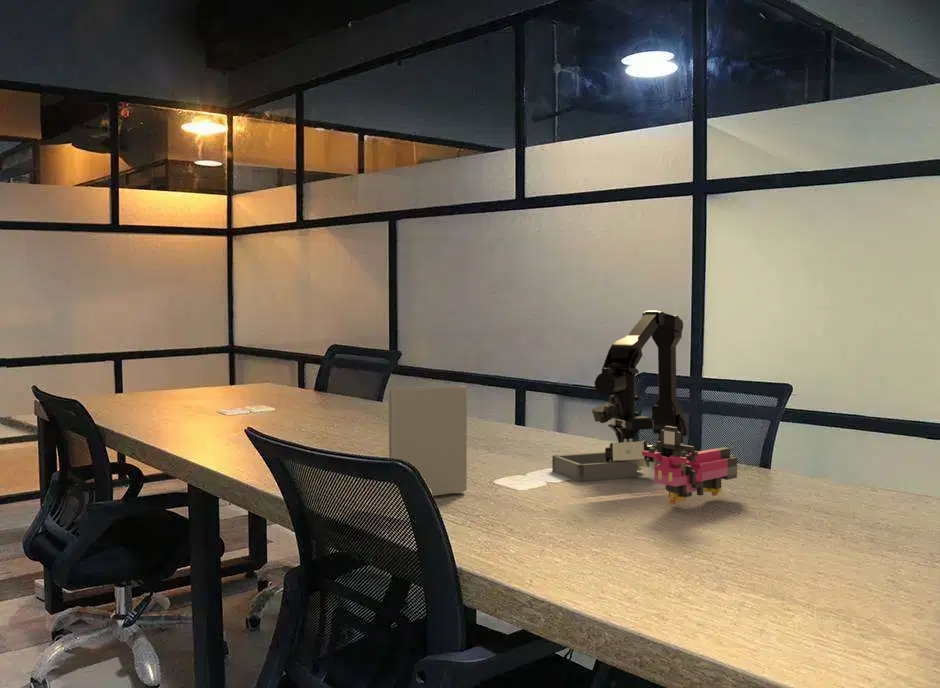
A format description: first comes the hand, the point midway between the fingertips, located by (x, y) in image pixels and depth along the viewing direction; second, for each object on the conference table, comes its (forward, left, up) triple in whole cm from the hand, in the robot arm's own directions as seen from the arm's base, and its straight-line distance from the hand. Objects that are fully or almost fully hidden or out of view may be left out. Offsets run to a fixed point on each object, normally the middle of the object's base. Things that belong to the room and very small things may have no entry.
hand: (623, 452), depth 216 cm
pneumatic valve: (-3, 0, -3) cm, 4 cm away
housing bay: (+8, 0, -5) cm, 10 cm away
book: (+55, +6, -5) cm, 55 cm away
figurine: (+1, +32, -5) cm, 33 cm away
